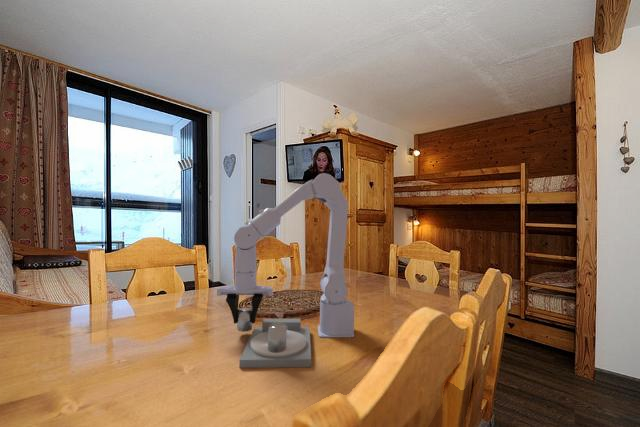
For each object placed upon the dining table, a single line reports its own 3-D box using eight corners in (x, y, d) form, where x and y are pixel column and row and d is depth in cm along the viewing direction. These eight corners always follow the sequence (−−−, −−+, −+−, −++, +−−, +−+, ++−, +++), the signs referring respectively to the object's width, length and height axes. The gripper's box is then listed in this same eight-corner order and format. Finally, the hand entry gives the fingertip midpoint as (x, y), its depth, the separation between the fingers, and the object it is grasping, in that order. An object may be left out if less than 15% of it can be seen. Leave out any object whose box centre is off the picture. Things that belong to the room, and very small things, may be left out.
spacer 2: (286, 344, 66) (287, 322, 67) (285, 352, 62) (286, 329, 63) (269, 344, 66) (269, 322, 66) (266, 352, 62) (267, 329, 62)
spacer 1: (253, 326, 80) (253, 307, 80) (250, 331, 76) (251, 312, 76) (238, 326, 80) (239, 307, 80) (235, 331, 76) (235, 312, 76)
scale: (309, 332, 81) (309, 317, 81) (311, 367, 62) (311, 347, 62) (254, 332, 80) (254, 318, 80) (239, 367, 61) (239, 348, 61)
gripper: (274, 268, 83) (273, 317, 83) (222, 268, 82) (221, 317, 82) (271, 273, 76) (270, 326, 76) (215, 273, 75) (213, 326, 75)
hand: (244, 322), depth 78 cm, fingers closed on spacer 1, 4 cm apart
